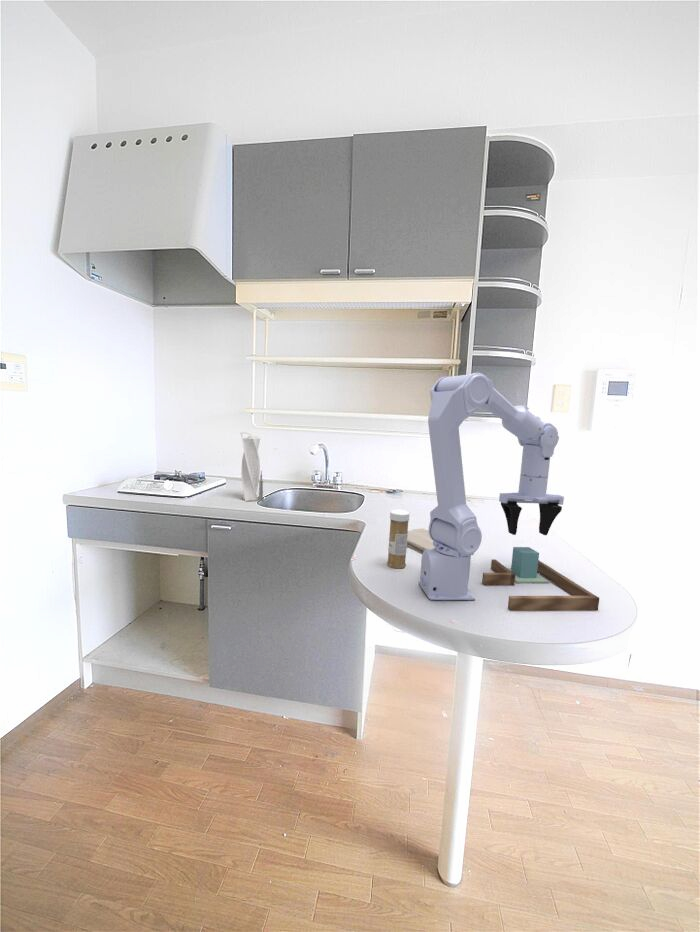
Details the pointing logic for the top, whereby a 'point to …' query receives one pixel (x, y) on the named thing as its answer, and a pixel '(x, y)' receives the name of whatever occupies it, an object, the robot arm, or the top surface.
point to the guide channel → (576, 601)
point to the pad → (530, 579)
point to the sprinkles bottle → (398, 538)
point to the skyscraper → (251, 469)
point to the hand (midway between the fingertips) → (527, 533)
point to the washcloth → (419, 540)
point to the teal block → (524, 562)
